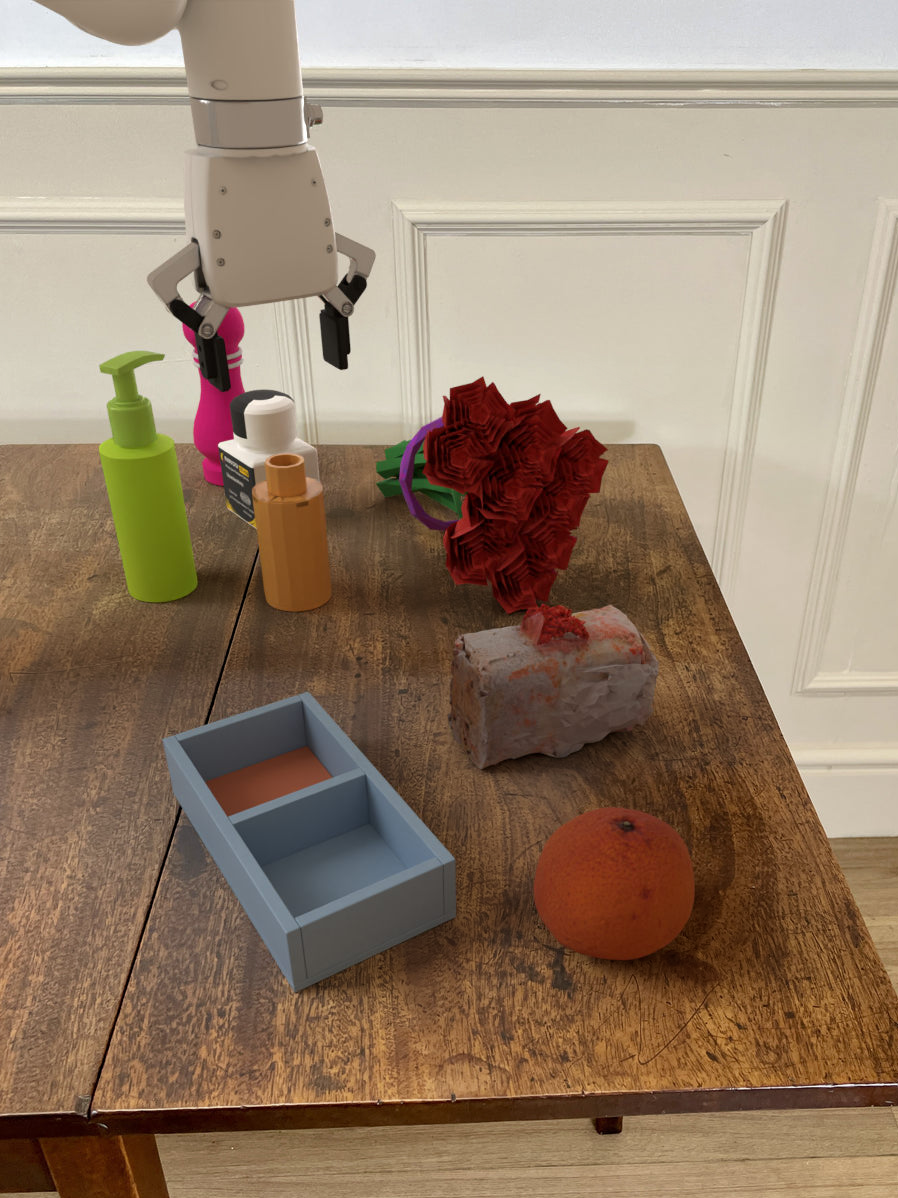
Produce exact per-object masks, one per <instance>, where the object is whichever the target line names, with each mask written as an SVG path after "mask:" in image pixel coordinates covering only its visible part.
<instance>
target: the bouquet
mask: <svg viewBox="0 0 898 1198" xmlns="http://www.w3.org/2000/svg"><path fill="white" fill-rule="evenodd" d="M442 399H443V403H444V405H443V409H442V415H441V416H440V417H438V418H436V419H434V420H432V421H430V422H429V423H426V424H425V425H423V426H421V427H420V428H419V430H418V431H417V432H416V433H415V435H414V436H413V437H412V438H411V439H408V440H406V439H404V440H401V442H398V443H397V444H395V445H393V446H391V447H388V448H385V449H384V457H385V459H384V460H380V461H375V464H376V465H375V472H376V474H378V475H379V476H380V477H382V479H384V480H381V481H378V482H375V485H376V486H377V488H378V489H379V491H380V493H381V494H382V495H383V496H384V498H390V497H397V496H401V495H403V497H404V500H405V502H406V503H405V504H406V505H407V508H408V510H409V512H410V516H412V517H413V518H415V519H416V520H417V521H419V523H421V524H423V526H425V527H426V528H428V529H429V530H431V531H438V532H444V535H443V538H442V543H443V548H444V550H445V552H446V554H445V568H446V569H447V570H448V572H449V575H450V576H449V577H451V578H452V581H453V582H454V584H455V585H456V586H457V585H466V584H469V585H470V584H471V585H475V586H476V585H478V586H483V587H488V586H489V584H488V583H490V584H491V590H492V597H494V599H495V600H496V601H497V603H499V605H500V606H501V608H503V610H504V611H505V612H506V613H507V615H509V614H511V613H514V612H517V611H519V610H528V609H529V608H536V607H539V606H538V603H537V601H540V602H544V603H548V602H549V598H550V593H551V589H552V587H553V586H554V584H555V581H556V579H557V577H558V576H559V571H557V570H562V571H567V569H568V567H569V564H570V560H571V557H572V553H573V549H574V547H575V545H576V544H577V542H578V537H577V536H574V535H573V533H572V532H571V531H574V530H578V529H579V528H580V525H581V519H582V515H583V513H584V510H585V508H586V506H587V504H588V502H589V499H590V498H592V497H591V494H600V492H601V487H602V481H603V476H604V474H605V471H606V469H607V467H608V466H609V465H608V464H609V459H605V458H603V457H602V458H601V456H602V455H604V454H605V453H606V452H608V450H609V449H608V448H607V447H606V446H605V445H603V443H601V442H600V441H599V440H598V439H597V438H595V436H594V435H593V433H592V431H591V430H590V429H587V428H586V429H583V430H581V431H579V430H580V429H581V426H577V427H573V428H570V429H568V427H567V425H565V423H563V421H562V420H561V419H560V417H559V415H558V413H557V412H556V410H555V409H554V406H553V404H552V402H551V399H545V400H544V401H542V402H540V400H541V393H539V394H536V395H535V396H532V397H530V398H528V399H525V400H519V401H518V400H517V401H512V402H510V403H509V402H507V401H506V399H505V397H504V396H503V395H502V394H501V392H500V390H499V389H498V387H497V386H496V384H495V382H494V381H491V383H489V385H487V383H486V380H485V377H484V375H483V376H481V377H479V378H477V379H476V380H474V381H472V382H469V383H465V384H461V385H457V386H453V387H449V398H448V397H447V395H442ZM578 431H579V432H578ZM415 493H419V494H422V495H424V496H426V497H428V498H430V499H431V500H433V501H435V502H437V503H439V504H441V505H442V506H444V507H446V508H447V509H449V510H451V511H452V512H454V513H456V514H457V516H458V519H453V520H447V521H444V520H441V519H438V518H436V517H433V516H431V515H430V514H429V513H427V512H426V510H425V509H424V507H423V506H422V504H421V503H420V501H419V499H418V498H417V497H416V495H415ZM461 497H464V499H463V501H462V499H461ZM536 600H537V601H536Z"/></svg>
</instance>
